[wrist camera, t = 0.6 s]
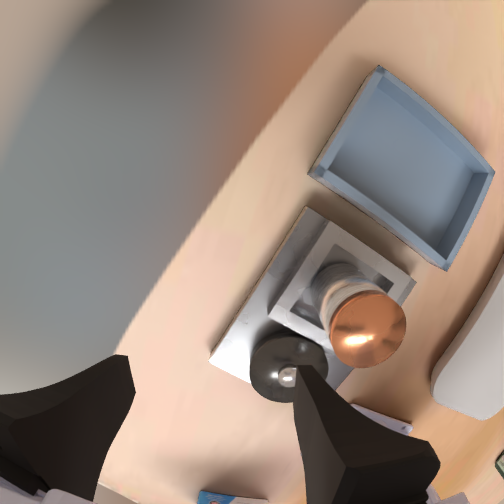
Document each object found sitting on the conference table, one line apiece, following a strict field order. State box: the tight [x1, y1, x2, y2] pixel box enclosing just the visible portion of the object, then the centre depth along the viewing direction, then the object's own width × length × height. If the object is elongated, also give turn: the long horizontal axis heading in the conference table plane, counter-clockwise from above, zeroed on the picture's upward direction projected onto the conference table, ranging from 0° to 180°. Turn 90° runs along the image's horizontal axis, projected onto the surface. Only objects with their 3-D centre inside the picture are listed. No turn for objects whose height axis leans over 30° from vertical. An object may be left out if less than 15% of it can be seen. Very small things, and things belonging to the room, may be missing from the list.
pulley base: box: [208, 206, 417, 403], centre depth 20 cm, size 10×13×3 cm
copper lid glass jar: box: [311, 263, 406, 368], centre depth 17 cm, size 4×4×6 cm
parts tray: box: [307, 65, 495, 272], centre depth 18 cm, size 12×9×2 cm
